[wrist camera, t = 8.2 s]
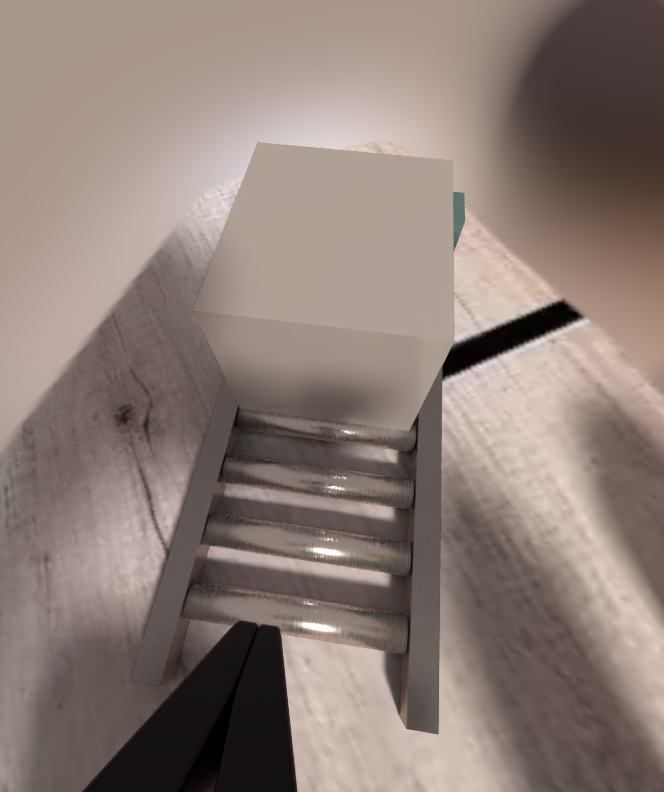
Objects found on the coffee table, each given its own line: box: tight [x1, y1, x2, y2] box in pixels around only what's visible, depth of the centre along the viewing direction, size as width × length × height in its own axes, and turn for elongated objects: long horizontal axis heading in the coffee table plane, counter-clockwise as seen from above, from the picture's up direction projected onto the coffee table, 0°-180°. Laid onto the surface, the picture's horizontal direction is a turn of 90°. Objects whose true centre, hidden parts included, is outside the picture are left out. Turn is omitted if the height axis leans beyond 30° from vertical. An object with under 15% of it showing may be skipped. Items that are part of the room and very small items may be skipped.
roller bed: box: [130, 192, 465, 734], centre depth 19 cm, size 12×25×6 cm, turn 172°
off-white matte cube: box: [193, 142, 454, 431], centre depth 19 cm, size 10×9×8 cm
